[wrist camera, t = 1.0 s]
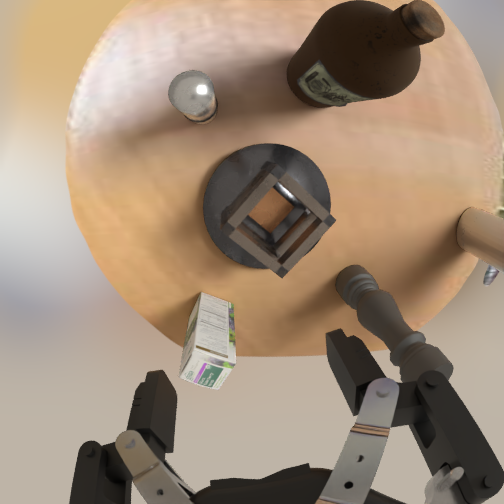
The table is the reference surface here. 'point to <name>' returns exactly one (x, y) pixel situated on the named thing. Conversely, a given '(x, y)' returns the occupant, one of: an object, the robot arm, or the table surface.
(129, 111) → the table surface
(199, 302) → the syrup box
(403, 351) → the candle holder
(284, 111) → the table surface
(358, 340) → the robot arm
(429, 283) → the table surface
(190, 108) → the silver metal bottle
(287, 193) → the collar stand
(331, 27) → the olive oil
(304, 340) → the table surface
